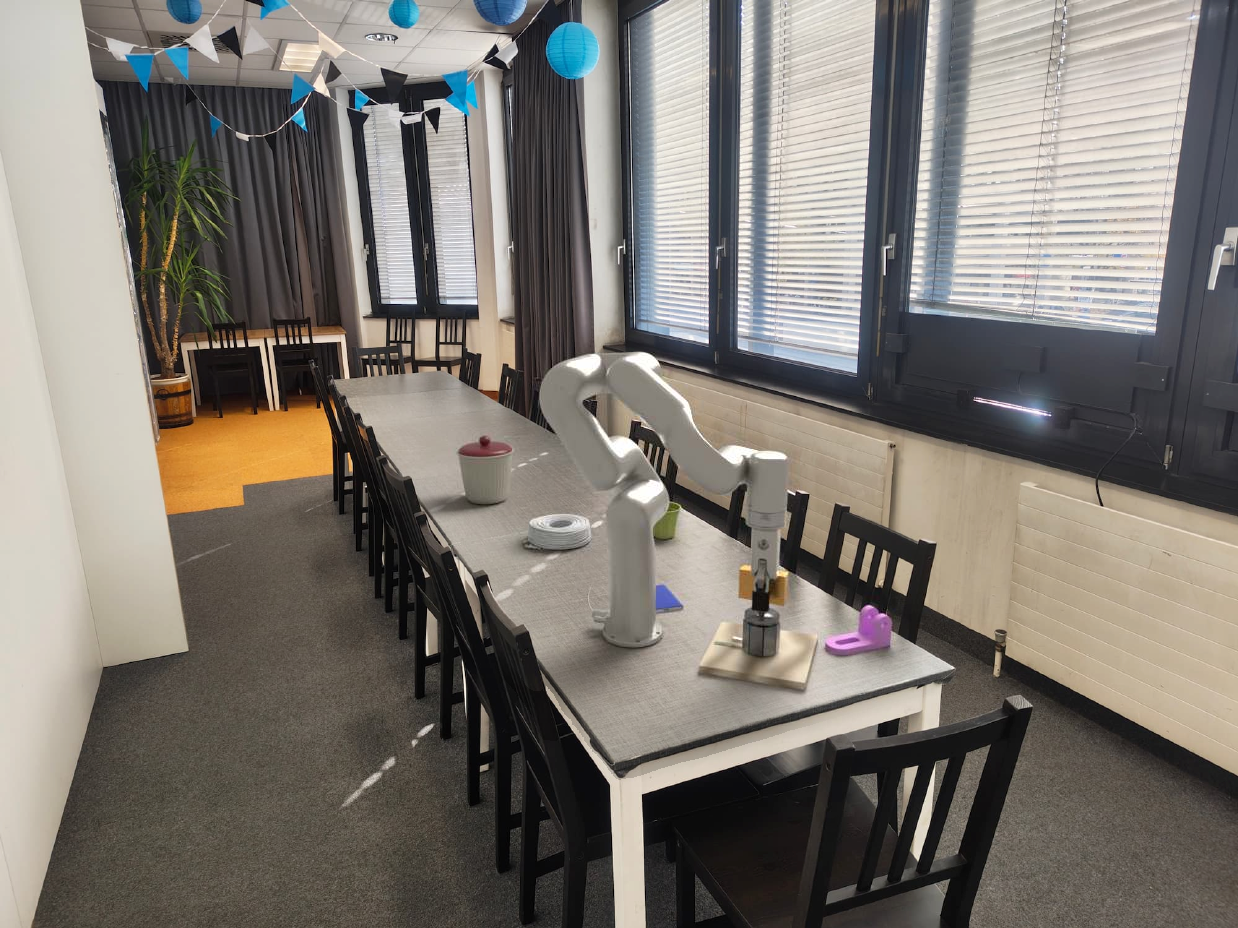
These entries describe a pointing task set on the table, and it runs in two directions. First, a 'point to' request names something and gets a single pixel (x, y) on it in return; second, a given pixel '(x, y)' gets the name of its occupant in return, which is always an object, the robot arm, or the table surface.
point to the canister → (486, 470)
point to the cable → (558, 532)
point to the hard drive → (666, 600)
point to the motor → (761, 615)
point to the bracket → (863, 634)
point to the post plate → (760, 658)
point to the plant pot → (667, 522)
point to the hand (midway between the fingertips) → (762, 599)
